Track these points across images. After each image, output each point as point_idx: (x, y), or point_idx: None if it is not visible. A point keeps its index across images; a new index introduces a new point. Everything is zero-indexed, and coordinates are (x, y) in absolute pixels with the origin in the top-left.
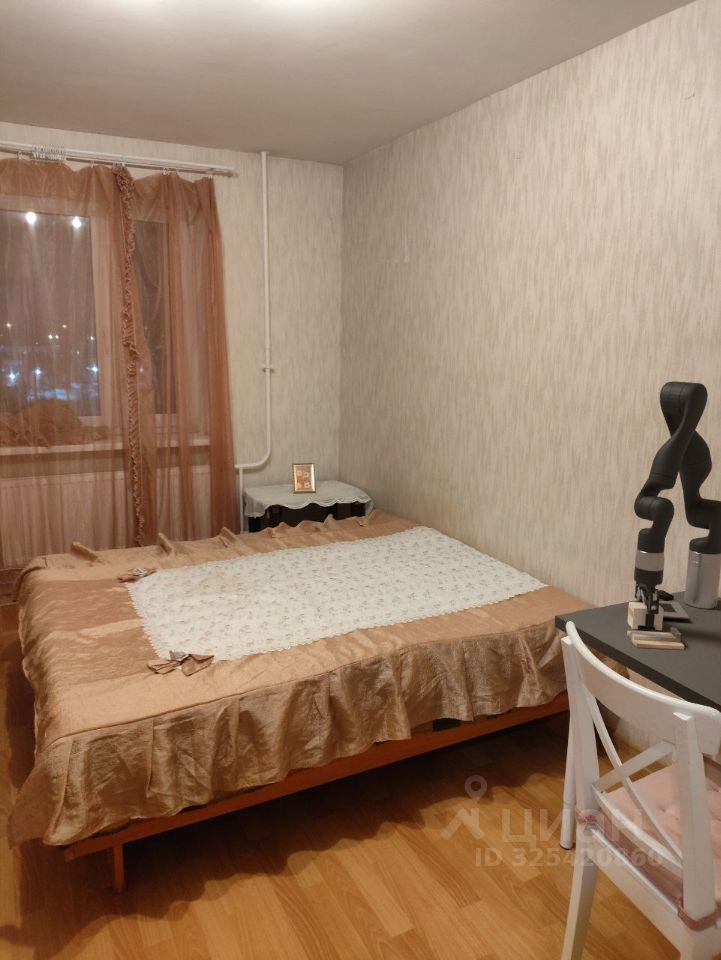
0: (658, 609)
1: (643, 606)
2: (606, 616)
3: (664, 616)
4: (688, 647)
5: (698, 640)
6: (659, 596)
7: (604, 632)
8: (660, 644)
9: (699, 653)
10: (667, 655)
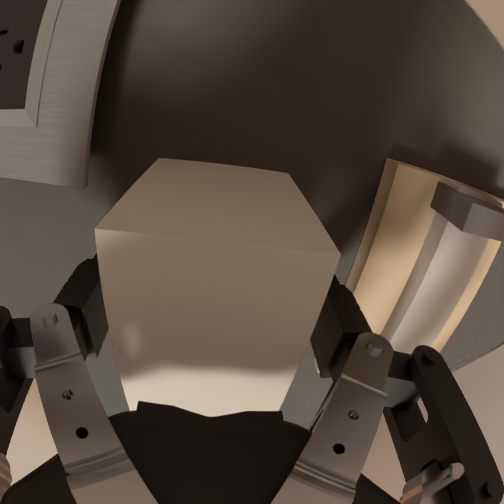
0: (453, 380)
1: (230, 392)
2: (99, 364)
3: (98, 84)
4: (497, 164)
5: (450, 48)
6: (499, 479)
7: (281, 409)
8: (472, 294)
9: None
10: (501, 282)
